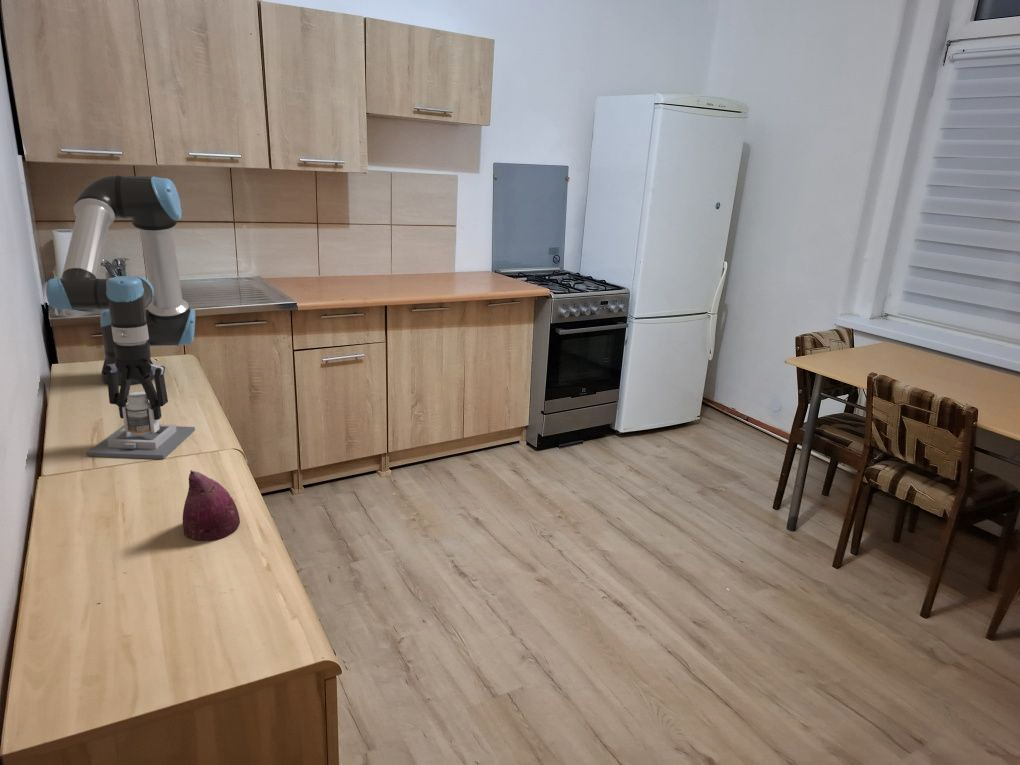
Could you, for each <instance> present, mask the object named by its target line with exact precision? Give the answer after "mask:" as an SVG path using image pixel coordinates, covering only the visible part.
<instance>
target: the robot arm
mask: <svg viewBox="0 0 1020 765" xmlns="http://www.w3.org/2000/svg"><path fill="white" fill-rule="evenodd" d="M74 202H75V203H74V206H73V213H74V216H75V221H74V224H73V229H72V232H71V233H72V234H71V237H70V242H69V246H68V250H67V254H66V259H65V262H64V267H63V270H62V275H61V278H60V277H55V278H50V279H49V280H48V281H47V282H46V286H45V294H46V295H45V296H46V300H47V302H48V304H49V306H50V307H51V308H53V309H56V310H66V311H67V310H70V311H73V310H75V311H77V310H102V311H101V312H100V316H99V317H100V318H99V319H100V325H99V326H100V329H101V336H102V343H103V350H104V360H103V364H102V368H101V376H100V377H101V381H102V383H105V384H107V388H108V389H107V390H108V391H107V392H108V400H109V404H111V405H116V406H117V407H118V413H119V417H120V419H123V424H124V425H123V426H125V432H129V431H130V430H129V424H128V417H127V410H126V406H127V404H128V403H129V401H128V398H127V396H128V395H129V394H130V390H131V385H135V384H141V385H142V388H143V392H145V393H146V395H147V397H148V401H149V402H150V404H151V407H150V408H149V417H150V425H151V433H155V432H157V431H158V430H159V429H160V428H159V423H160V422H159V421H160V419H162V408H161V407H164V406H165V405H166V404H167V403H169V399H168V394H167V387H166V381H165V375H164V374H165V371H166V367H165V366H164V365H160V366H159V365H155V364H154V362H153V361H152V359H151V358H152V357H151V354H152V353H151V347H163V346H165V347H167V346H173V347H174V346H177V347H180V346H189V345H191V344H192V343H193V342H194V339H195V330H196V328H195V327H196V310H195V309H193V308H190V305H189V303H188V301H187V300H185V299H183V293H182V287H181V281H180V280H181V279H180V274H179V266H178V260H177V253H176V252H177V251H176V247H175V239H174V233H173V232H174V231H173V229H175V227H177V225H178V221H179V220H181V219H182V217H183V216H182V215H183V214H182V213H183V212H182V206H181V204H182V203H181V200H180V196H179V193H178V189H177V187H176V185H175V183H174V182H173V181H172V180H171V179H169V178H165V177H157V176H139V175H138V176H135V175H134V176H133V175H118V174H112V175H106V176H102V177H98V178H97V179H95V180H94V181H92V182H90V183H88V185H86V186H85V187H84V188H83V189H82V191H80V193H79V194H78V196H77V197H76V199H75V201H74ZM115 219H130V220H131V224H132V226H133V228H135V229H136V230H137V231H139V236H140V240H141V247H142V250H143V252H142V254H143V257H144V258H143V259H144V264H145V269H146V274H147V278H146V277H142V276H139V275H136V276H132V275H131V276H129V275H123V276H122V275H120V276H114V277H109V278H99V276H100V270H101V266H102V261H103V255H104V250H105V246H106V242H107V236H108V231H109V227H110V226H111V225H113V223H114V221H115ZM146 308H147V309H146ZM153 379H154V384H153V381H152V380H153Z"/></svg>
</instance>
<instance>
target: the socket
mask: <svg viewBox="0 0 1020 765" xmlns="http://www.w3.org/2000/svg"><path fill="white" fill-rule="evenodd" d="M159 428H160V429H159V430H158V431H157V432H155V433H149V434H145V435H133V434H131V433H130V431H129V432H125V426H124V425H122V426H121V427H119V428H118V429H117V430H116V431H114V432H113V433H111V434H110V435H109V436H107V437H106V438H104V439H103V440H102V441H100V442H99V443H98V444H96V445H95V446H93V447H92V448H90V449H89V450H88V451H86V456H87V457H99V458H101V457H103V458H126V459H127V458H128V459H130V458H131V459H150V460H151V459H153V460H165V459H166V458H167V457H168V456H169V455H171V454H172V452H174V451H175V450H176V449H178V447H179V446H180V445H181V444H182V443H183V442H184V441H185V440H187V439H188V437H190V436H191V435H192V434H193V433H194V432H195V431H196V427H195V426H182V425H181V426H179V425H176V424H166V423H165V424H162V423H161V422H159Z"/></svg>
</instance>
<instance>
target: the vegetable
mask: <svg viewBox="0 0 1020 765" xmlns="http://www.w3.org/2000/svg"><path fill="white" fill-rule="evenodd" d="M187 490H188V491H187V495H186V497H185V501H184V505H183V509H182V527H183V536H185V537H186V538H188V539H190V540H194V541H198V542H206V541H215V540H221V539H223V538H226V537H228V536H229V535H232V534H233V533H236V531H237V530H238V528H239V526H240V524H241V519H240V514H239V511H238V507H237V505H236V502H235V500H234V499H233V497H232V496H231V494H230V493H229V491H228V490H227V489H226V488H224V487H223V485H221V484H220V483H219V482H217V481H216V480H214V479H213V478H210V477H208V476H206V475H205V474H203V473H201V472H200V471H195V470H193V469H190V473H189V475H188V489H187Z"/></svg>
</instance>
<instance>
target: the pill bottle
mask: <svg viewBox="0 0 1020 765" xmlns="http://www.w3.org/2000/svg"><path fill="white" fill-rule="evenodd" d="M127 398H128V401H129V402H128V401H127V402H128V403H126V405H127V406H126V410H127V417H128V424H129V430H130V433H131V434H133V435H145V434H149V433H151V425H150V417H149V408H150V407H151V404H150V402H149V400H148V397H147V395H146V393H145V391H136V392H135V391H133V392H131V393H129V395H128V396H127Z"/></svg>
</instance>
